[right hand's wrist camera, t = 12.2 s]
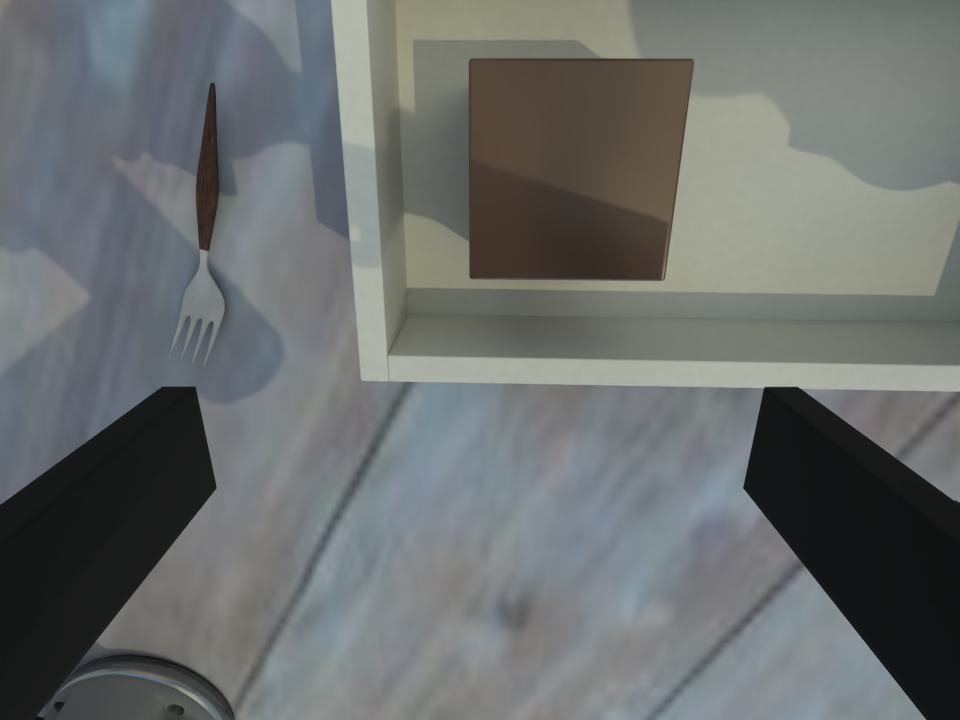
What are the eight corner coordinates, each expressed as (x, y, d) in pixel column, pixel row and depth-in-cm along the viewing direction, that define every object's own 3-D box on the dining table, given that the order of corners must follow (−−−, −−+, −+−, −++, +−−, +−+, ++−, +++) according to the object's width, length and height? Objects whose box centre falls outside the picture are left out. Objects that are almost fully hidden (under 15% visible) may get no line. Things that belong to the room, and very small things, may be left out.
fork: (241, 90, 29) (224, 86, 27) (222, 355, 35) (207, 367, 33) (193, 77, 29) (172, 72, 27) (182, 346, 35) (164, 357, 33)
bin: (388, 331, 24) (360, 381, 19) (367, -47, 19) (320, -119, 14) (975, 341, 24) (1110, 395, 18) (1119, -43, 18) (1362, -116, 13)
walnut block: (475, 246, 22) (469, 279, 16) (475, 82, 20) (468, 57, 14) (621, 247, 22) (665, 281, 16) (638, 83, 20) (695, 58, 14)
